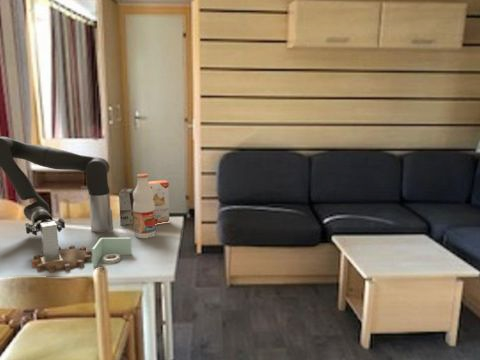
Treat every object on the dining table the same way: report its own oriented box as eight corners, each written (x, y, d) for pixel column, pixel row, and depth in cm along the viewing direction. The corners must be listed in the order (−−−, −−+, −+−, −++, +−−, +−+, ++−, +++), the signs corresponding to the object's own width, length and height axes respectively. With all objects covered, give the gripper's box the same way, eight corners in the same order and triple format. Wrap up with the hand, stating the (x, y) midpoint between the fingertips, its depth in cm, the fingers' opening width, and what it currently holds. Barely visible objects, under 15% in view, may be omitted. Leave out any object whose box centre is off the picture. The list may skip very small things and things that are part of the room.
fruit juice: (139, 230, 207) (137, 171, 200) (159, 232, 205) (156, 172, 198) (130, 237, 198) (127, 176, 191) (150, 239, 196) (148, 177, 189)
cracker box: (142, 228, 211) (140, 185, 206) (138, 224, 216) (136, 182, 211) (170, 223, 217) (168, 181, 213) (165, 220, 222) (164, 179, 218)
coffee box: (133, 224, 215) (132, 192, 211) (120, 225, 214) (118, 192, 211) (136, 219, 224) (134, 188, 220) (123, 219, 223) (121, 188, 220)
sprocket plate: (85, 246, 187) (85, 242, 187) (98, 264, 169) (97, 259, 169) (29, 256, 176) (28, 251, 176) (36, 277, 158) (35, 271, 158)
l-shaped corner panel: (93, 267, 168) (92, 249, 166) (101, 255, 180) (100, 237, 178) (125, 267, 169) (124, 248, 167) (131, 255, 180) (130, 237, 178)
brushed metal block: (57, 255, 174) (54, 221, 171) (59, 259, 170) (56, 224, 166) (43, 257, 171) (40, 223, 168) (45, 262, 167) (42, 226, 164)
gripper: (22, 213, 182) (26, 224, 169) (59, 208, 189) (66, 219, 176) (24, 231, 184) (28, 243, 170) (60, 225, 191) (67, 237, 178)
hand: (47, 231), depth 173 cm, fingers open, 8 cm apart
